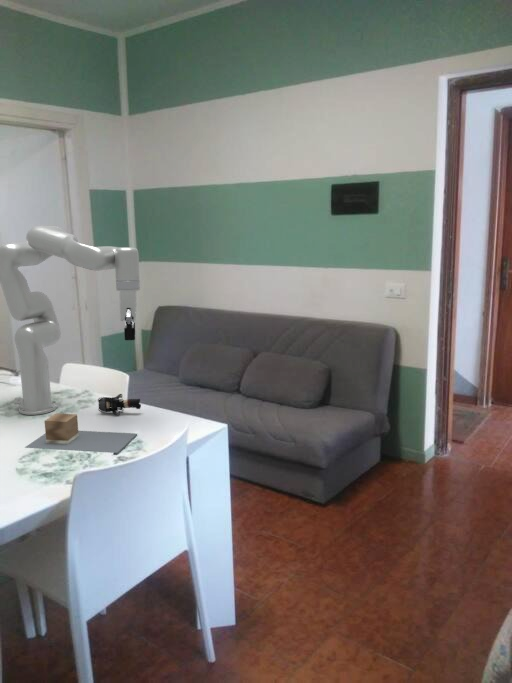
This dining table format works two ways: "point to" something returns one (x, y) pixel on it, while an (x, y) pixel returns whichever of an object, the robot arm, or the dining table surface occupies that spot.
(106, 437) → the slate mat
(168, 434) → the dining table surface
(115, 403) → the toy
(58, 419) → the walnut cube
